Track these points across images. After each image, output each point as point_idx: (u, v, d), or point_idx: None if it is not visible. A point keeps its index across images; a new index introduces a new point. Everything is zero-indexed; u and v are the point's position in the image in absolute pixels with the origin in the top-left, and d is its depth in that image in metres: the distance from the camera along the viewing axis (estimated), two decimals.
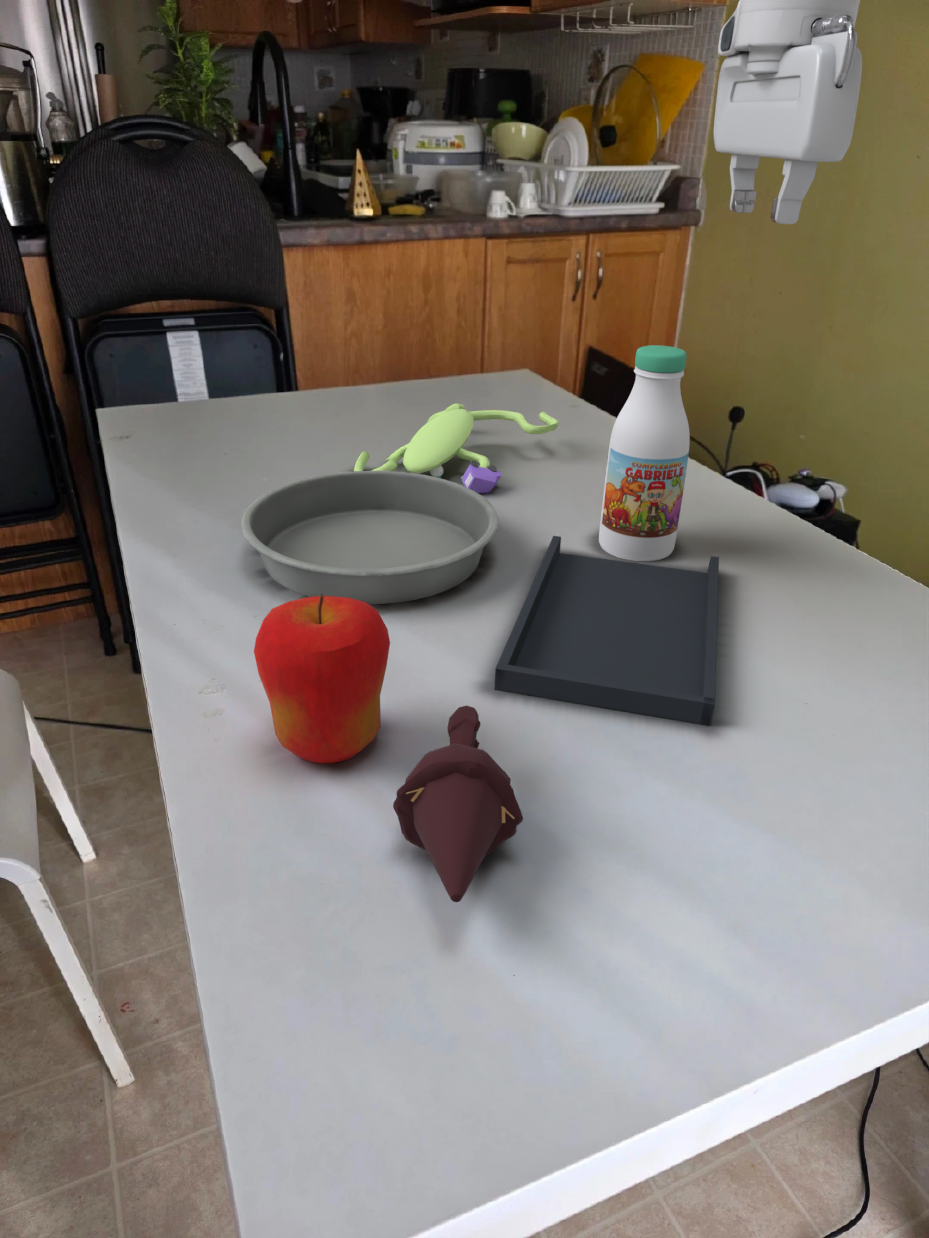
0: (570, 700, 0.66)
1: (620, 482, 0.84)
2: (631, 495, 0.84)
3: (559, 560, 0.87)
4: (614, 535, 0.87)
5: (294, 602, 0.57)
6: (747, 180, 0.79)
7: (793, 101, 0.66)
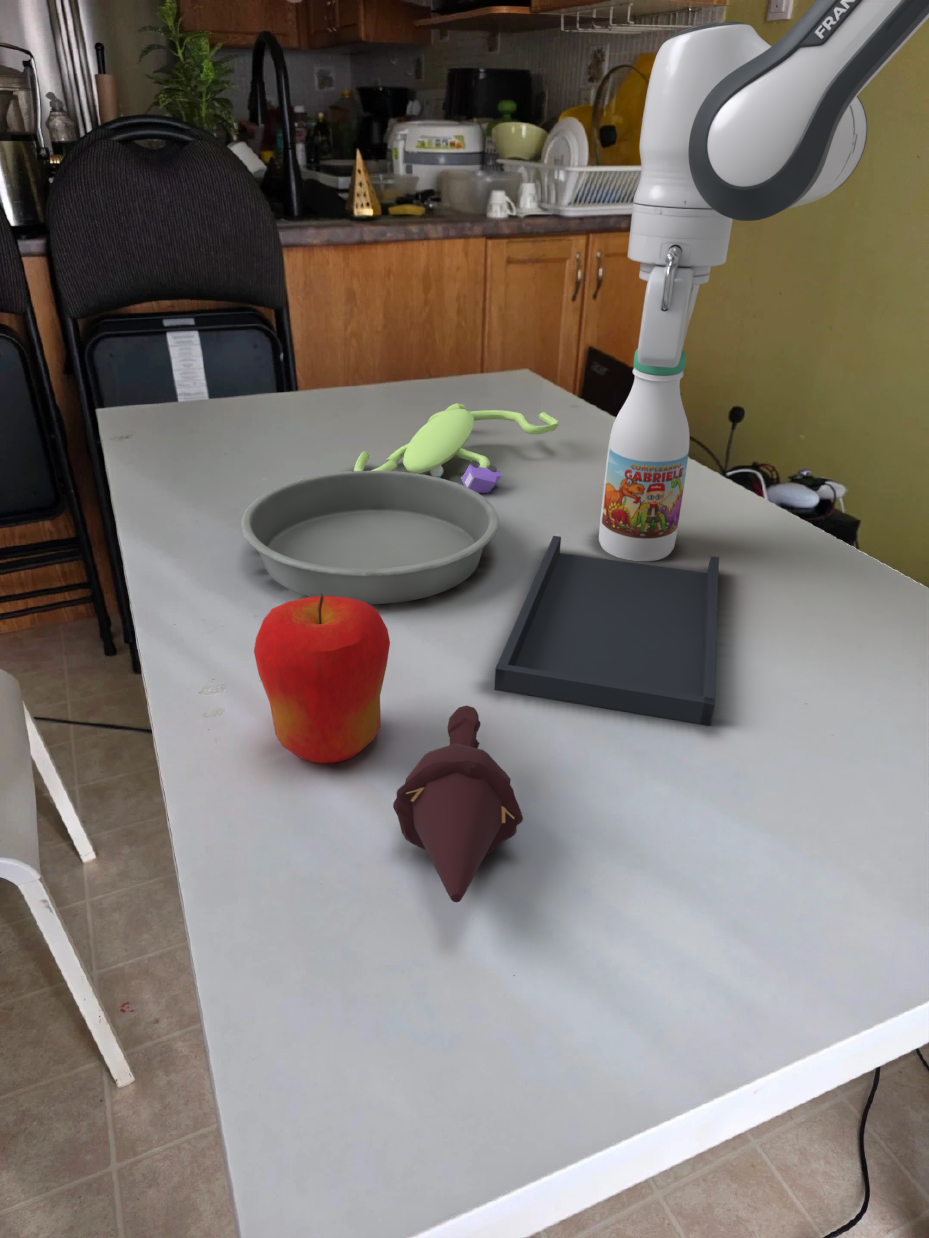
0: (570, 700, 0.66)
1: (620, 483, 0.84)
2: (631, 497, 0.84)
3: (559, 560, 0.87)
4: (614, 535, 0.87)
5: (294, 602, 0.57)
6: None
7: None
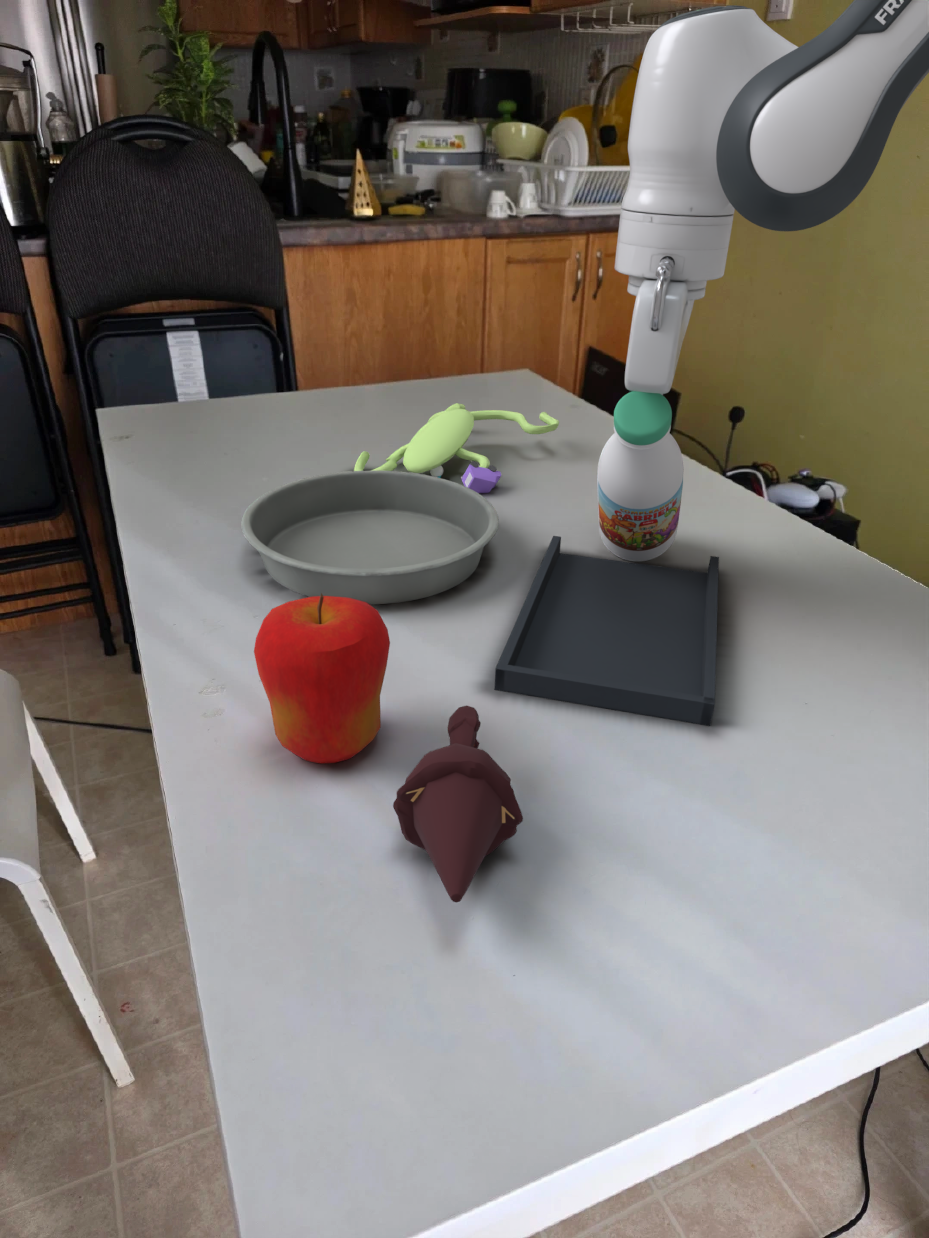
0: (570, 700, 0.66)
1: (611, 516, 0.81)
2: (623, 527, 0.81)
3: (559, 560, 0.87)
4: (612, 542, 0.86)
5: (294, 602, 0.57)
6: None
7: None
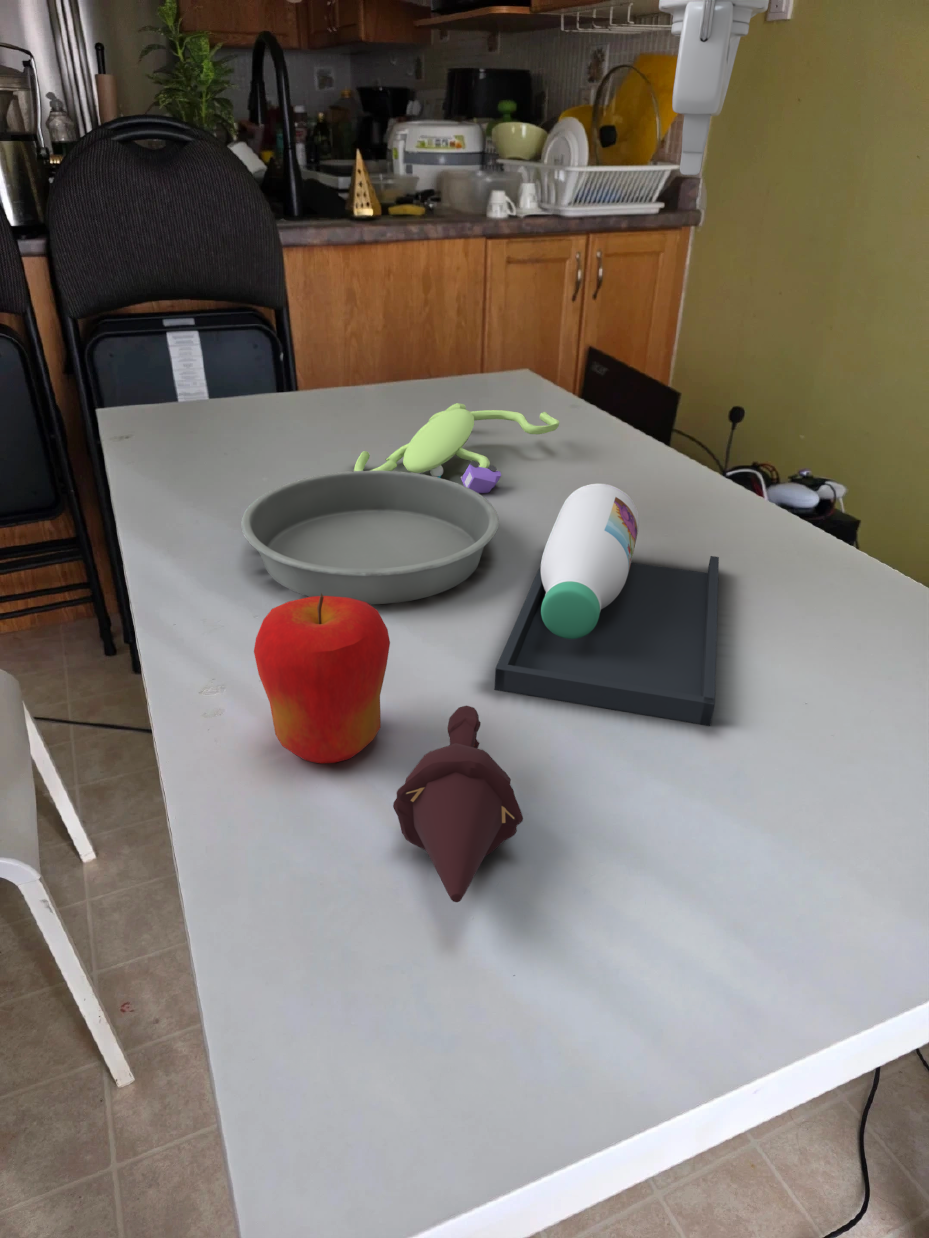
0: (570, 700, 0.66)
1: None
2: None
3: None
4: None
5: (294, 602, 0.57)
6: None
7: None
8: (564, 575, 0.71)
